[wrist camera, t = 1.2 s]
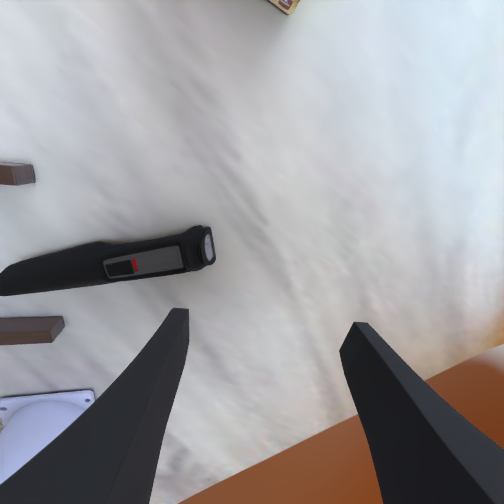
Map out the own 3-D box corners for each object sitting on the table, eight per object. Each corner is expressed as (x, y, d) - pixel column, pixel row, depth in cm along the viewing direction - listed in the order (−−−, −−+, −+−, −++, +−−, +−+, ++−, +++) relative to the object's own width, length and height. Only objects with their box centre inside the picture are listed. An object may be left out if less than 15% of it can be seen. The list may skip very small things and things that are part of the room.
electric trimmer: (8, 249, 19) (-27, 267, 16) (209, 221, 21) (211, 232, 18) (30, 290, 20) (2, 314, 17) (216, 260, 22) (218, 276, 19)
